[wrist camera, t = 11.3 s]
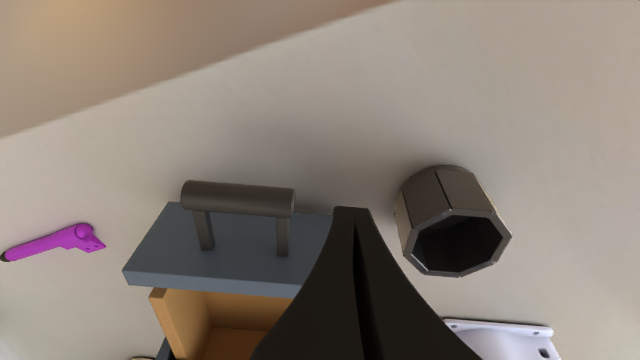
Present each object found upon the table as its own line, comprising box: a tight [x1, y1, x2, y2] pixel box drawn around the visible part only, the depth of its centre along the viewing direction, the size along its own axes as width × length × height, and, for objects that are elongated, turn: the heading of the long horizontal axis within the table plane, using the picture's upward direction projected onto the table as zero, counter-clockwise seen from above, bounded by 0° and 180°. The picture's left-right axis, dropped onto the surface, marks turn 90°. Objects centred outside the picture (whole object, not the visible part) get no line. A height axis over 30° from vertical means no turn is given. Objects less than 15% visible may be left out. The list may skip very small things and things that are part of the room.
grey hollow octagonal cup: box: [394, 165, 512, 278], centre depth 18 cm, size 5×5×4 cm
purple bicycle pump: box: [0, 224, 106, 262], centre depth 25 cm, size 3×1×16 cm
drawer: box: [122, 180, 333, 360], centre depth 20 cm, size 18×11×5 cm, turn 176°
